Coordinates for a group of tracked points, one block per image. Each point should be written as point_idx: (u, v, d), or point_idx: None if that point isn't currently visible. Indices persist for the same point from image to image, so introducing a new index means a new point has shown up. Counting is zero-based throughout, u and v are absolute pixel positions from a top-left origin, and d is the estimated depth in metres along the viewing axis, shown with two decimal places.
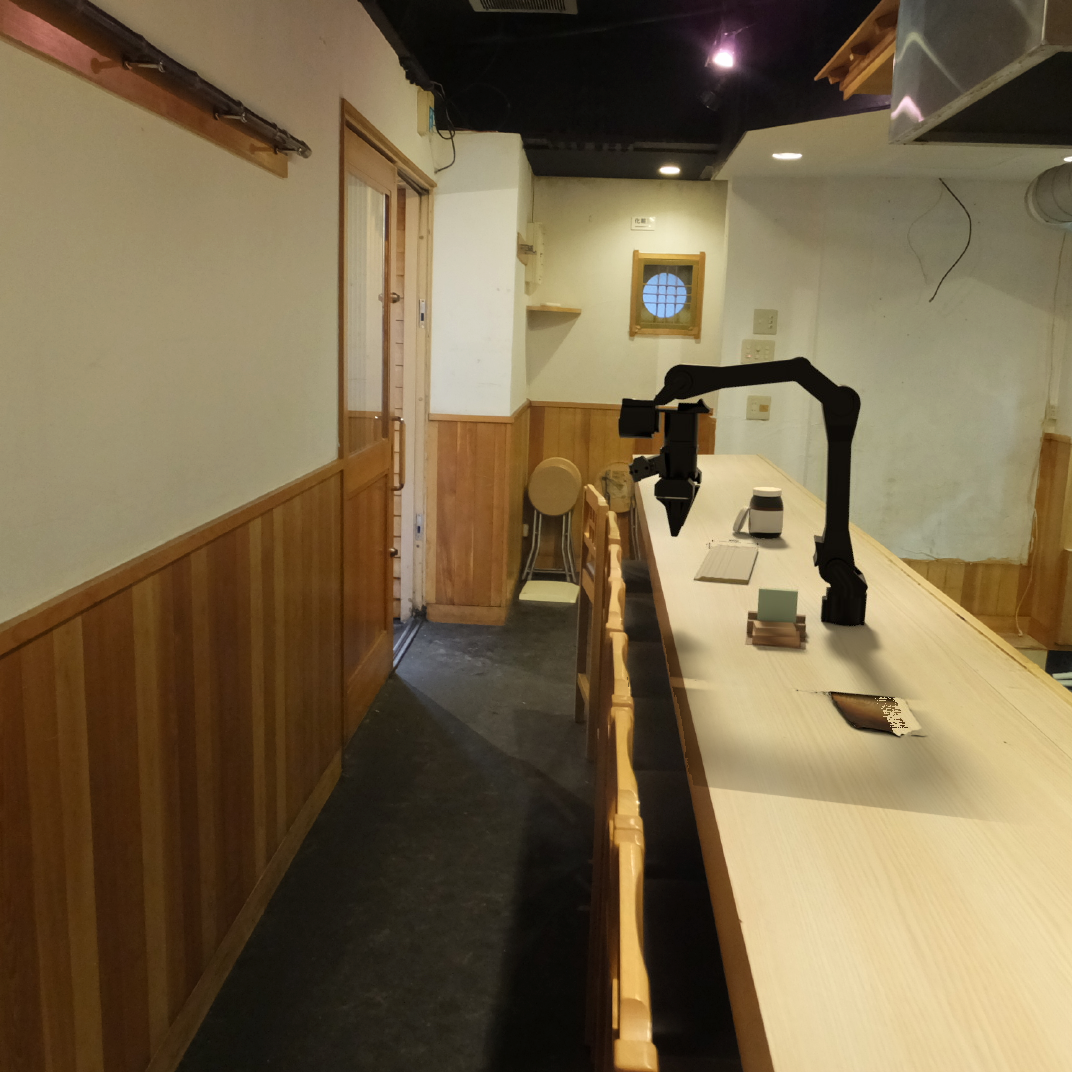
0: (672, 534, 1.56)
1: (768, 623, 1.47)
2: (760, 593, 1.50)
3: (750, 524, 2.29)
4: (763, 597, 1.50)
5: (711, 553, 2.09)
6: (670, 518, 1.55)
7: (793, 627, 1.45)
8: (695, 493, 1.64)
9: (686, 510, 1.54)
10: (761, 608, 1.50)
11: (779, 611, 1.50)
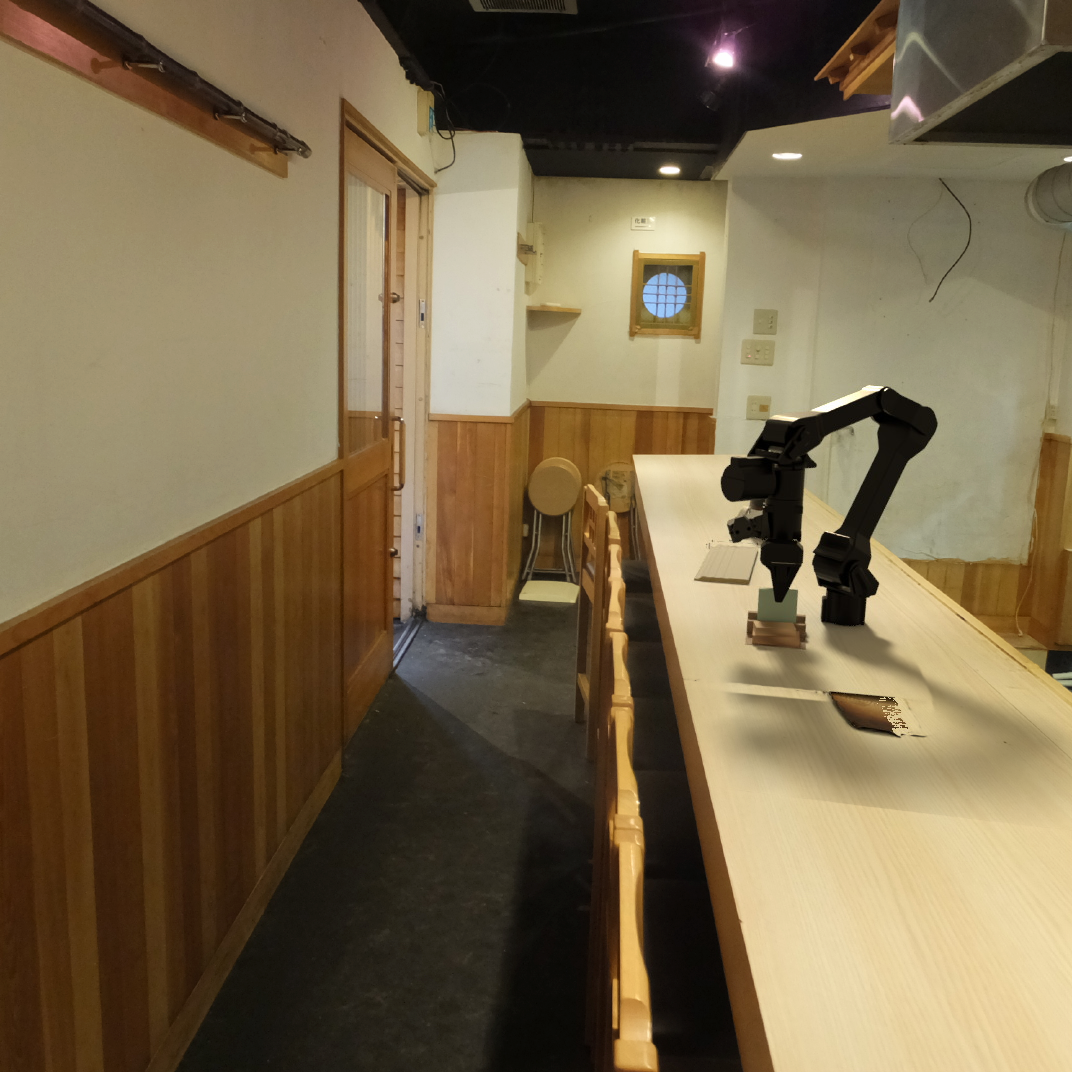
0: (776, 600, 1.45)
1: (768, 623, 1.47)
2: (760, 593, 1.50)
3: None
4: (763, 597, 1.50)
5: (711, 553, 2.09)
6: (775, 583, 1.44)
7: (793, 627, 1.45)
8: None
9: (793, 575, 1.42)
10: (761, 608, 1.50)
11: (779, 611, 1.50)
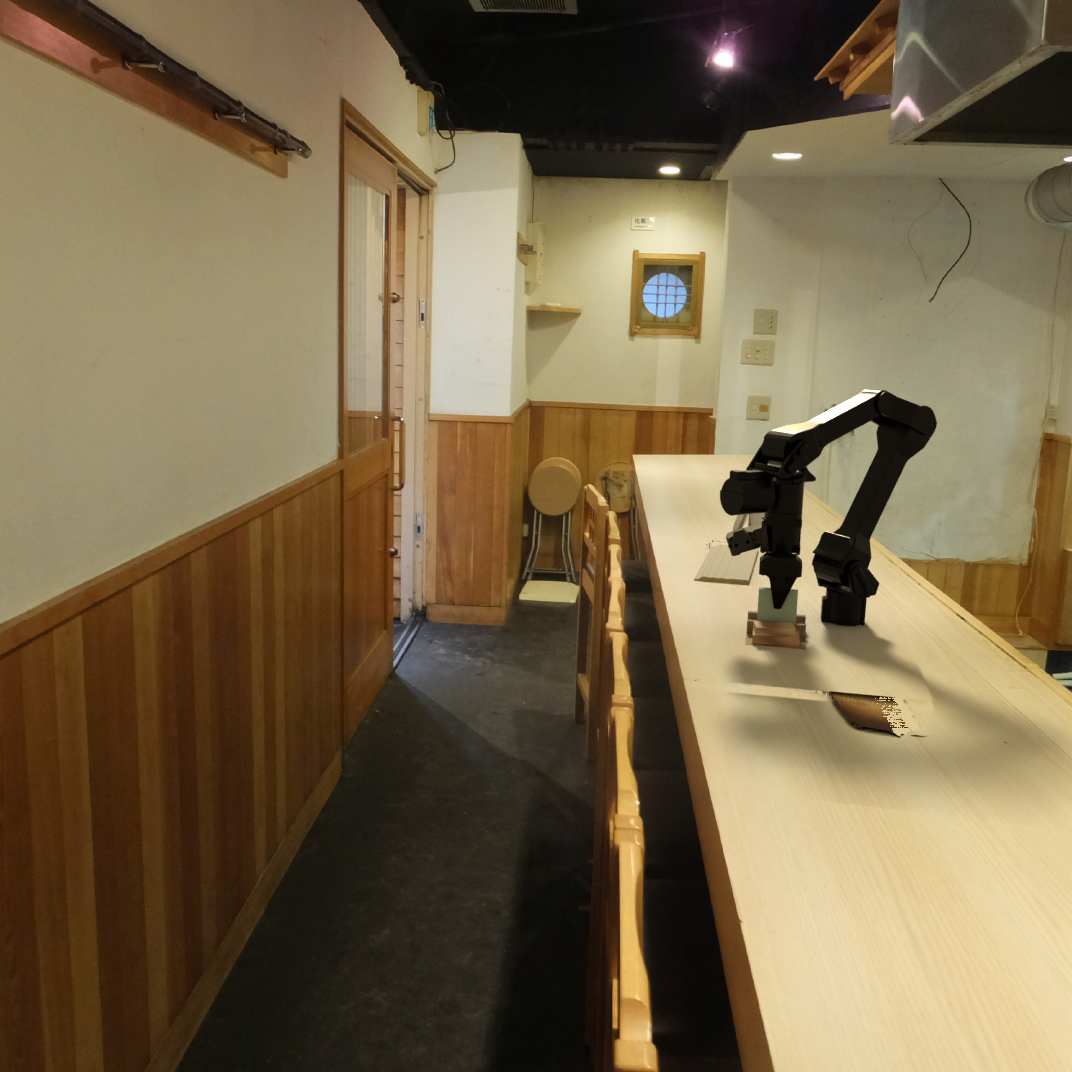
0: (775, 606, 1.49)
1: (768, 623, 1.47)
2: (760, 593, 1.50)
3: (750, 524, 2.29)
4: (763, 597, 1.50)
5: (711, 553, 2.09)
6: (774, 590, 1.48)
7: (793, 627, 1.45)
8: None
9: (792, 582, 1.46)
10: (761, 608, 1.50)
11: (779, 611, 1.50)
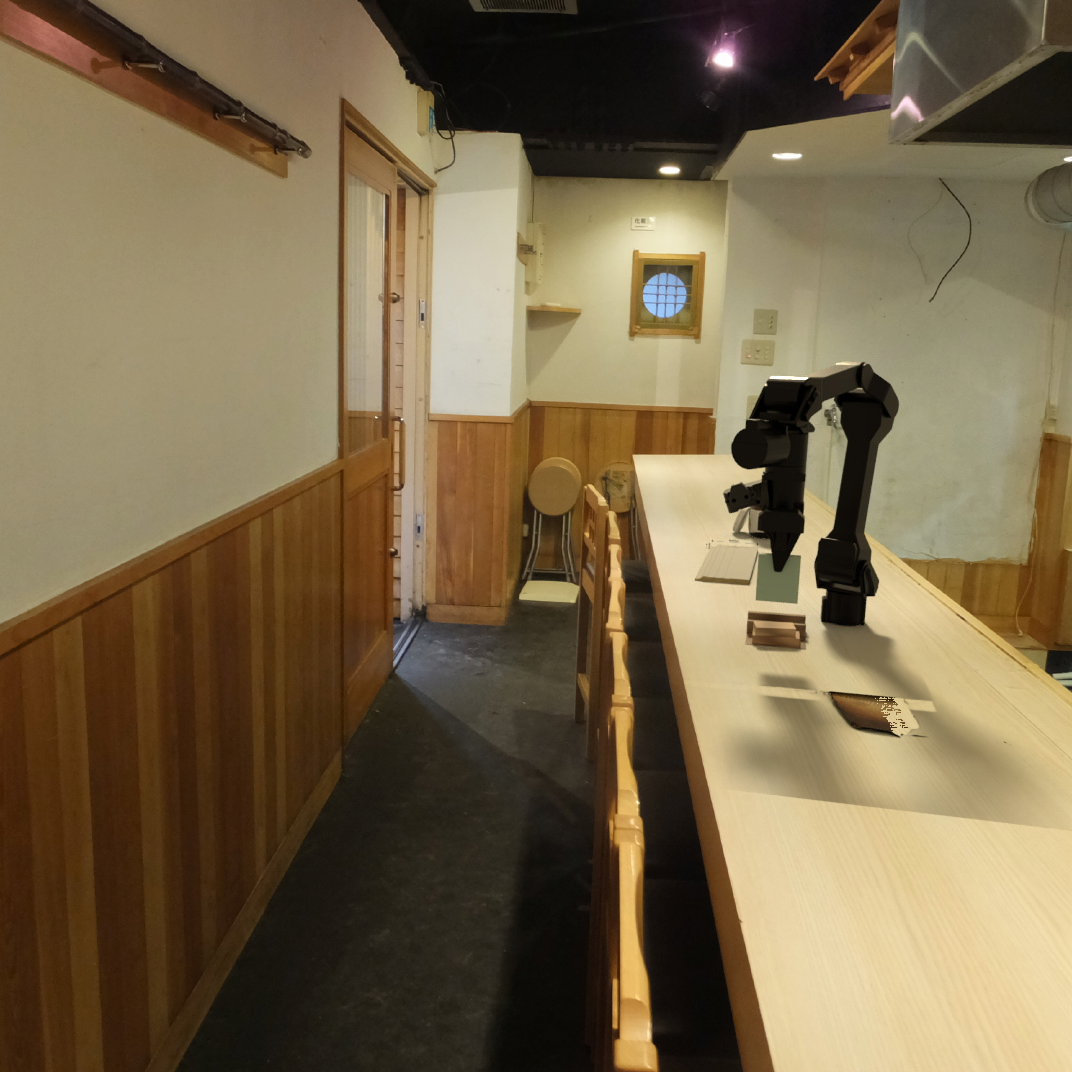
0: (775, 569, 1.38)
1: (768, 623, 1.47)
2: (760, 559, 1.38)
3: (750, 524, 2.29)
4: (763, 564, 1.38)
5: (711, 553, 2.09)
6: (774, 551, 1.36)
7: (793, 627, 1.45)
8: None
9: (794, 542, 1.35)
10: (761, 575, 1.39)
11: (780, 578, 1.38)
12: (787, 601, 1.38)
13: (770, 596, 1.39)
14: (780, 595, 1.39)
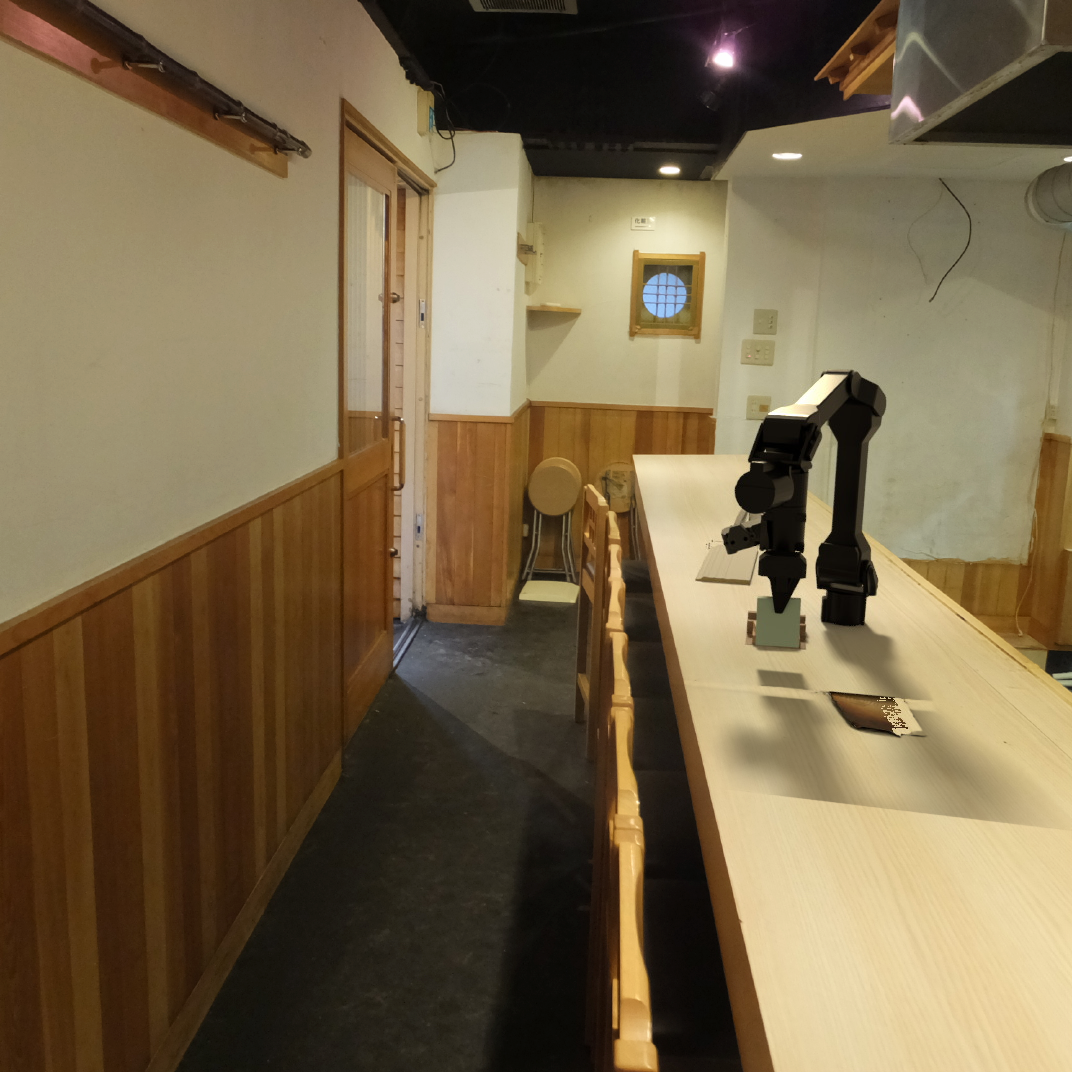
0: (776, 610, 1.33)
1: None
2: (759, 602, 1.34)
3: None
4: (762, 607, 1.34)
5: (711, 553, 2.09)
6: (775, 593, 1.32)
7: None
8: None
9: (795, 584, 1.31)
10: (760, 619, 1.35)
11: (780, 622, 1.34)
12: (788, 645, 1.34)
13: (770, 640, 1.35)
14: (781, 639, 1.35)
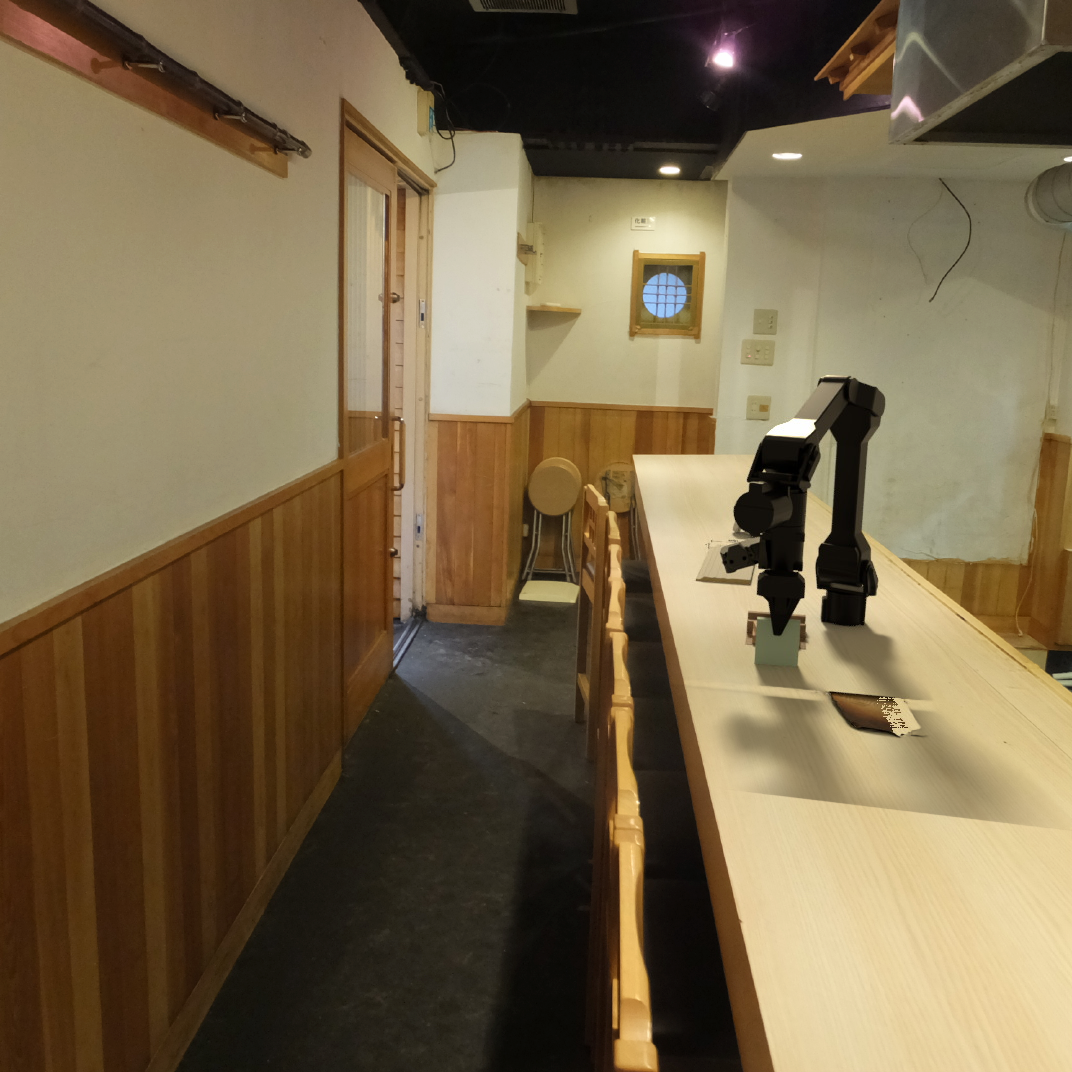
0: (775, 633, 1.32)
1: None
2: (758, 624, 1.35)
3: None
4: (762, 629, 1.35)
5: (711, 553, 2.09)
6: (773, 615, 1.31)
7: None
8: None
9: (793, 606, 1.30)
10: (759, 640, 1.35)
11: (779, 644, 1.35)
12: None
13: (769, 661, 1.36)
14: (779, 660, 1.35)
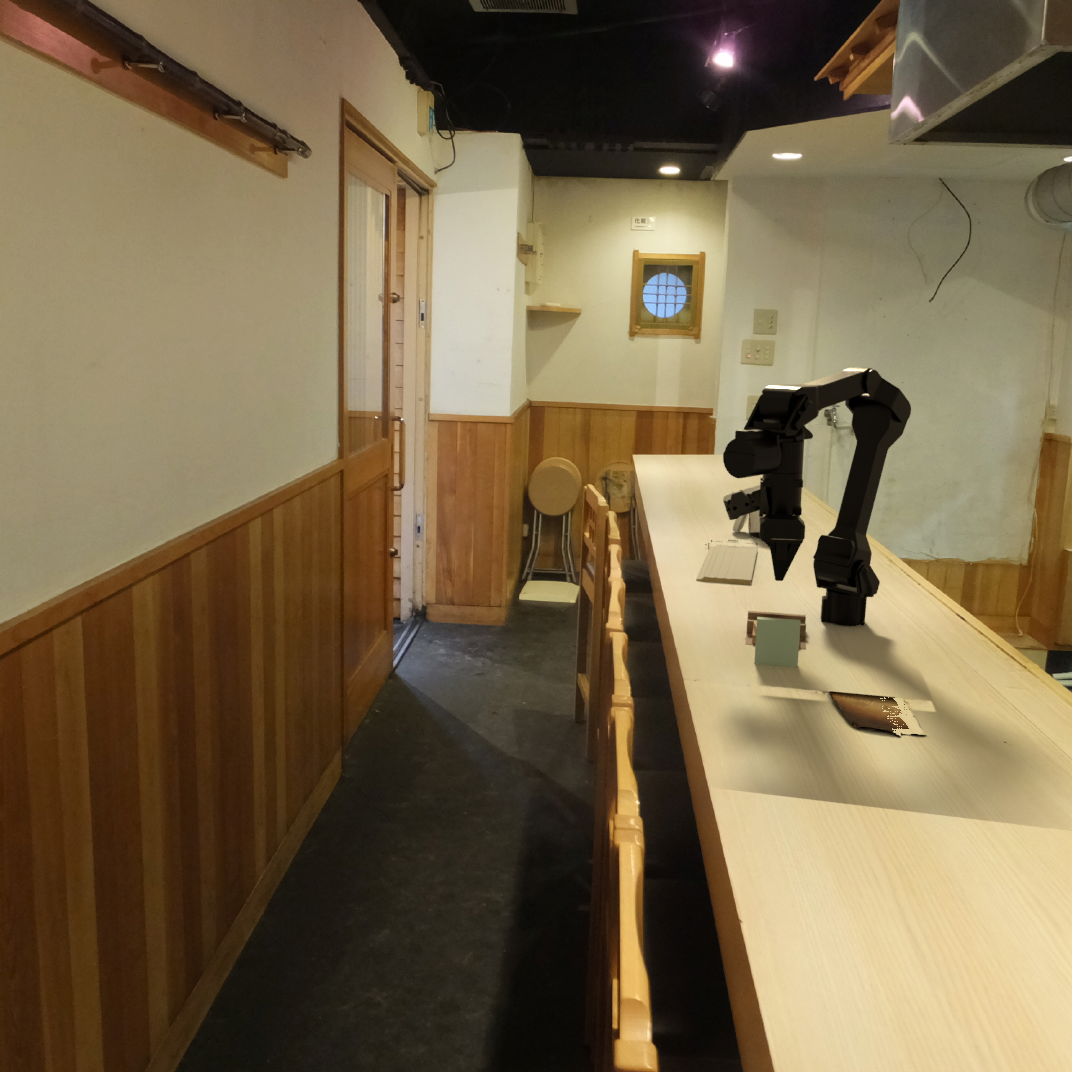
0: (777, 578, 1.39)
1: None
2: (758, 624, 1.35)
3: (750, 524, 2.29)
4: (762, 629, 1.35)
5: (711, 553, 2.09)
6: (775, 561, 1.38)
7: None
8: None
9: (794, 552, 1.36)
10: (759, 640, 1.35)
11: (779, 644, 1.35)
12: None
13: (769, 661, 1.36)
14: (779, 660, 1.35)
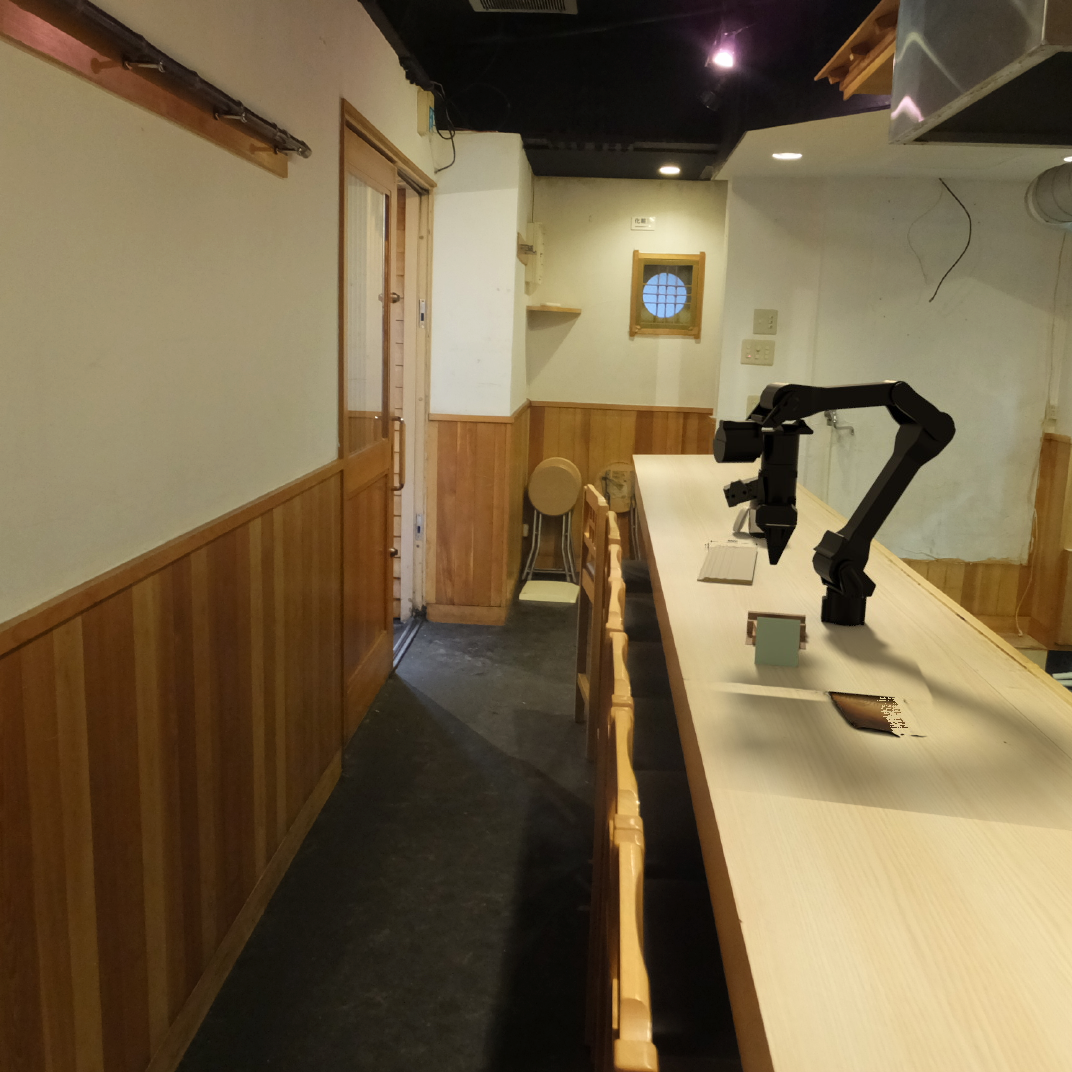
0: (771, 562, 1.48)
1: None
2: (758, 624, 1.35)
3: (750, 524, 2.29)
4: (762, 629, 1.35)
5: (711, 554, 2.08)
6: (770, 546, 1.47)
7: None
8: None
9: (788, 537, 1.46)
10: (759, 640, 1.35)
11: (779, 644, 1.35)
12: None
13: (769, 661, 1.36)
14: (779, 660, 1.35)
